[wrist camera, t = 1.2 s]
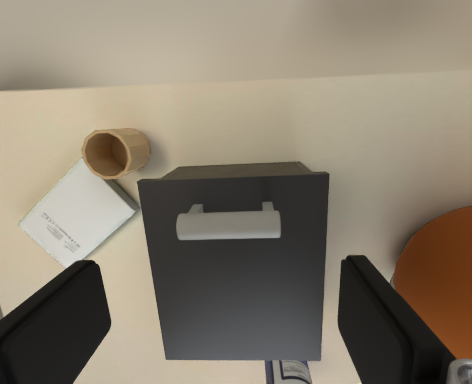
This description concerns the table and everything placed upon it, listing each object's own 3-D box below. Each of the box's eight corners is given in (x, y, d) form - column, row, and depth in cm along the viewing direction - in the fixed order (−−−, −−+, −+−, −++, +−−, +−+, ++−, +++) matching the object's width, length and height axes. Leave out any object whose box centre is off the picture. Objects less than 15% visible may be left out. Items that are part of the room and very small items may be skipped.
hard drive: (141, 207, 30) (76, 264, 33) (89, 155, 29) (26, 219, 31) (135, 212, 29) (67, 272, 31) (80, 156, 27) (14, 224, 30)
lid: (141, 179, 19) (105, 198, 14) (326, 171, 18) (353, 189, 13) (168, 352, 23) (147, 410, 19) (318, 352, 22) (336, 414, 18)
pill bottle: (279, 369, 36) (290, 457, 26) (256, 344, 35) (258, 427, 25) (311, 351, 35) (334, 437, 25) (288, 325, 34) (303, 404, 24)
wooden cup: (107, 129, 28) (77, 131, 23) (147, 127, 28) (126, 128, 23) (114, 170, 29) (87, 180, 24) (153, 168, 29) (134, 178, 24)
